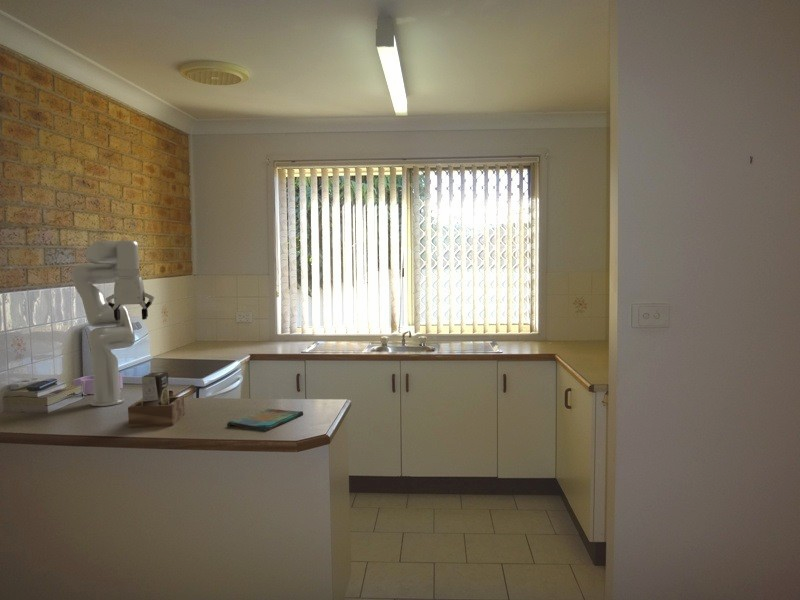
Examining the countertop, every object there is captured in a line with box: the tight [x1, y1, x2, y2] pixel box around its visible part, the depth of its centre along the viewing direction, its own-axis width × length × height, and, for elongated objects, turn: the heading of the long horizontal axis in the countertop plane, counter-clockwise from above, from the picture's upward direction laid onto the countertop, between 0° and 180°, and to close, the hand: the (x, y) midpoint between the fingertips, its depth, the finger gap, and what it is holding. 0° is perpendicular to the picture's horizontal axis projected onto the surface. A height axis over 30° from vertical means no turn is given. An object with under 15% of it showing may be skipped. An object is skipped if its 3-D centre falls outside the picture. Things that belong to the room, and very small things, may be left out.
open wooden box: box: [127, 396, 186, 428], centre depth 223 cm, size 15×15×7 cm
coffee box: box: [141, 371, 170, 406], centre depth 223 cm, size 9×6×16 cm
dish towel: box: [226, 408, 304, 432], centre depth 219 cm, size 17×23×2 cm
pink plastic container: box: [72, 372, 124, 394], centre depth 281 cm, size 20×12×7 cm, turn 146°
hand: (131, 319), depth 230 cm, fingers open, 9 cm apart
